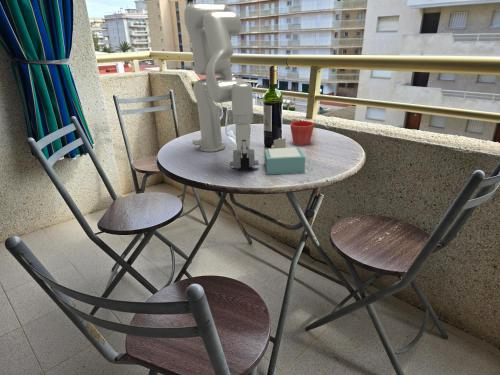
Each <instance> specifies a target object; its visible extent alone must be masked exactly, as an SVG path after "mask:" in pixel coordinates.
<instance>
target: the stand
mask: <svg viewBox="0 0 500 375" xmlns="http://www.w3.org/2000/svg"><path fill="white" fill-rule="evenodd" d="M263 153H264V154H263V155H264V166H265V169H266V174H267V175H281V174H283V175H284V174H300V173H302V174H303V173H306V172H305V171H306V156H305V155H304V153H303V151H302V150H301V148H300V147H286V148H275V149H272V148H265V149H264V151H263Z"/></svg>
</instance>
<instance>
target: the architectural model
mask: <svg viewBox="0 0 500 375" xmlns="http://www.w3.org/2000/svg"><path fill="white" fill-rule="evenodd" d="M286 140H287V138H280V137H279V138H278V139H274V140H273V143H272V144H271V147H270V149H275V148H289V147H288V145H287V144H286V143H287V141H286Z"/></svg>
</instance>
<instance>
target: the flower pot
mask: <svg viewBox="0 0 500 375" xmlns="http://www.w3.org/2000/svg"><path fill="white" fill-rule="evenodd" d="M289 125H290V132H291V137H292V143H293V144H294V145H295V144H296V145H295V146H300V145H303V146H307V145H310V143H311V138H312V135H313V131H314V126H315V124H314V122H312V121H307V120H296V121H295V120H294V121H292V122H290V124H289Z"/></svg>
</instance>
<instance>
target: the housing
mask: <svg viewBox="0 0 500 375" xmlns="http://www.w3.org/2000/svg"><path fill="white" fill-rule="evenodd" d="M242 150H243V148H242ZM246 150H247V149H246ZM242 153H243V151H242ZM246 153H247V151H246ZM248 157H249V167H252V168H253V167H256V166H259V165H260V163H259V160H257V159H256V160H255V150H254V148H252V149H251V148H250V150H248ZM240 158H241V149H240V150H239V151H237V149H234V150H232V161H229V167H233V168H239V167H241V161H240Z"/></svg>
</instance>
